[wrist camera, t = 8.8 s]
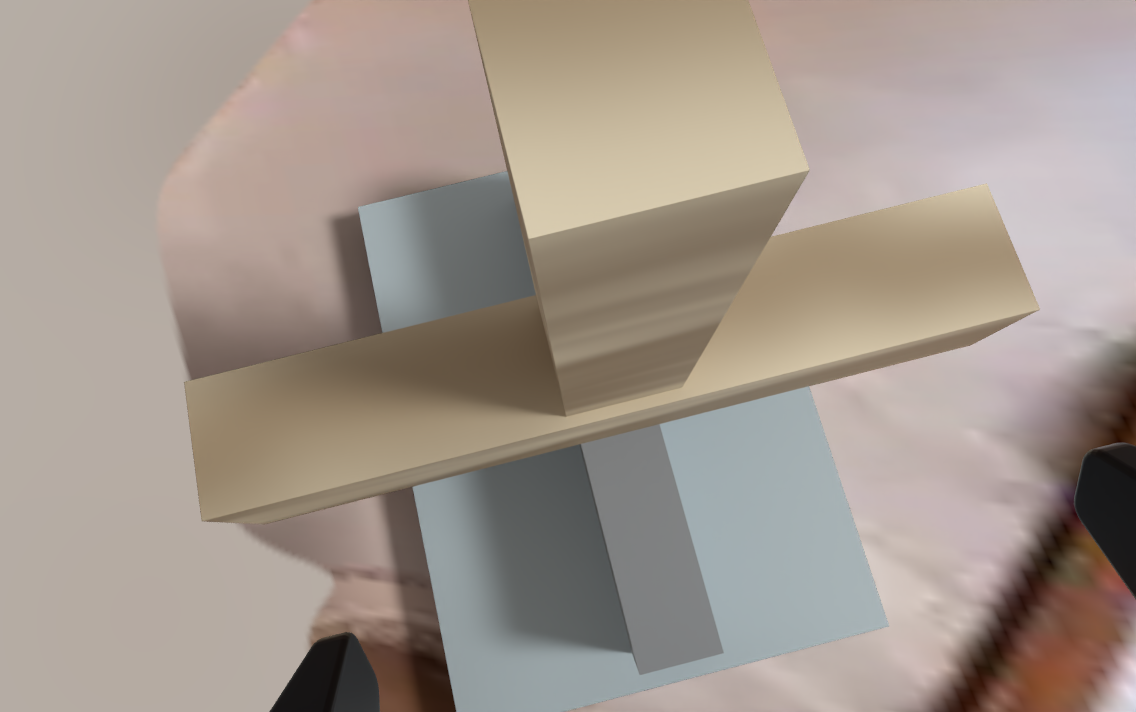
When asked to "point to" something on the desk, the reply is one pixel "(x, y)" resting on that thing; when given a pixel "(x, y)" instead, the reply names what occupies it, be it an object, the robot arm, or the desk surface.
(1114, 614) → the desk surface
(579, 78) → the t bar
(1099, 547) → the robot arm
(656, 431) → the stand
